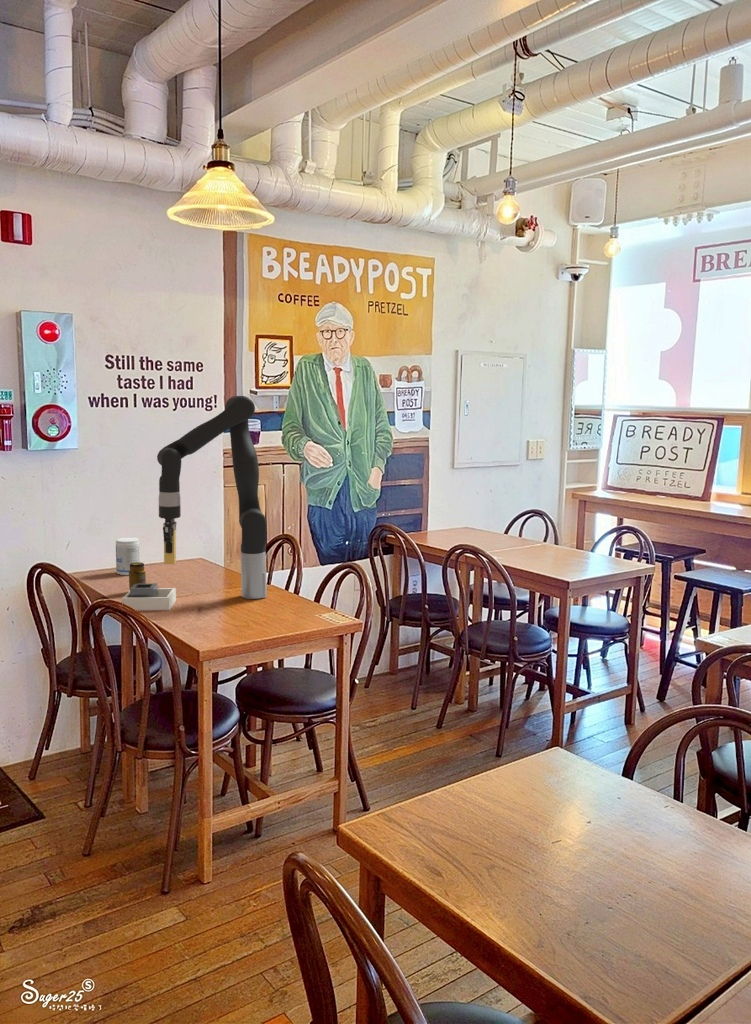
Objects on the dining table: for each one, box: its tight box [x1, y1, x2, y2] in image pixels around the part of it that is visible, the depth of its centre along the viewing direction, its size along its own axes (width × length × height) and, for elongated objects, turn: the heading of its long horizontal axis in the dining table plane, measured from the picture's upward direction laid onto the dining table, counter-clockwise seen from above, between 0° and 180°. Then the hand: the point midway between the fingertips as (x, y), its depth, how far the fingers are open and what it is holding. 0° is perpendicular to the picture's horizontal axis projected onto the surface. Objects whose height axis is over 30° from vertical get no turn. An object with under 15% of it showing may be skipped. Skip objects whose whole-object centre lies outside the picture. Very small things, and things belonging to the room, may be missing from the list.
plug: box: [163, 529, 177, 565], centre depth 290 cm, size 4×4×12 cm
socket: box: [130, 582, 158, 597], centre depth 291 cm, size 8×8×7 cm
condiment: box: [128, 561, 147, 592], centre depth 308 cm, size 7×8×12 cm
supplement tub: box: [115, 537, 141, 576], centre depth 343 cm, size 10×10×15 cm
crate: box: [122, 587, 177, 611], centre depth 291 cm, size 16×14×5 cm
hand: (170, 551), depth 290 cm, fingers closed on plug, 3 cm apart
